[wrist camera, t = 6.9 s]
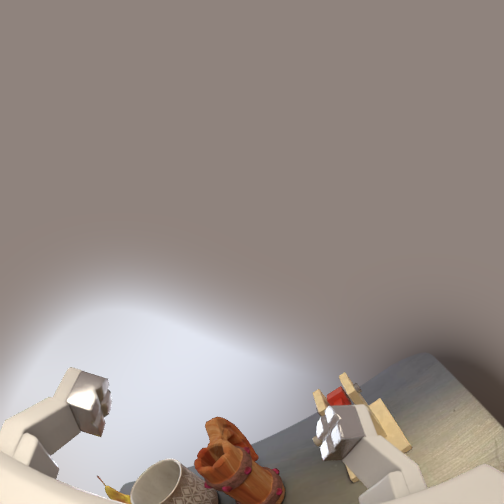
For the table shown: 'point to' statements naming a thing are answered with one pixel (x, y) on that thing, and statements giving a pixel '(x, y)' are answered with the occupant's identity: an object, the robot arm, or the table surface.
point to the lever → (337, 399)
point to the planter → (171, 486)
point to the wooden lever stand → (379, 416)
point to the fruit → (116, 495)
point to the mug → (236, 467)
